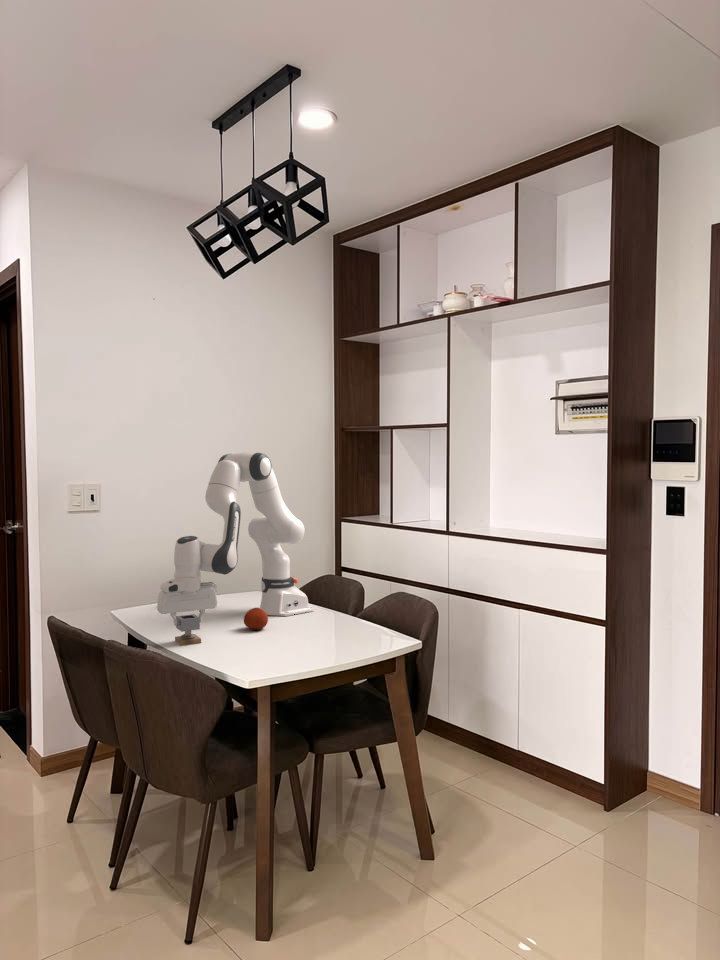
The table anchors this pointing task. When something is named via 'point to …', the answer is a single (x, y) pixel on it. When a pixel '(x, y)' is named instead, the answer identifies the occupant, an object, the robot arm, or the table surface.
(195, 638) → the post block
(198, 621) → the grey square frame
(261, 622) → the fruit
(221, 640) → the table surface
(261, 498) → the robot arm
